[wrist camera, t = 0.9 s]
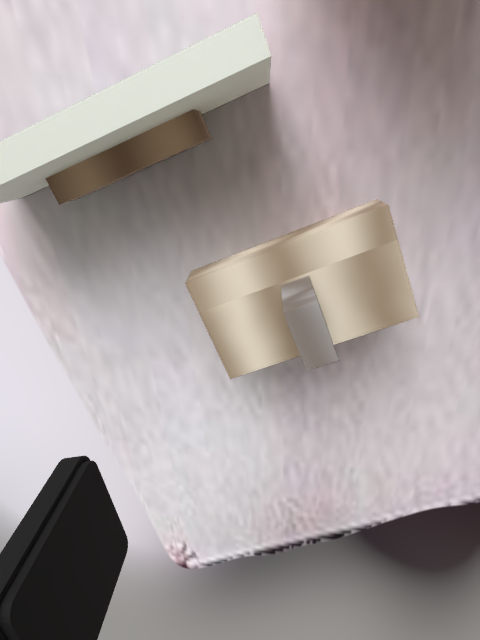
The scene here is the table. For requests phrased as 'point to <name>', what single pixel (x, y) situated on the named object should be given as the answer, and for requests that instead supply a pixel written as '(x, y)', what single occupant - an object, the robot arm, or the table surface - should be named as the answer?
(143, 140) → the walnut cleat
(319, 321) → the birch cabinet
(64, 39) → the table surface
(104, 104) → the wall board
